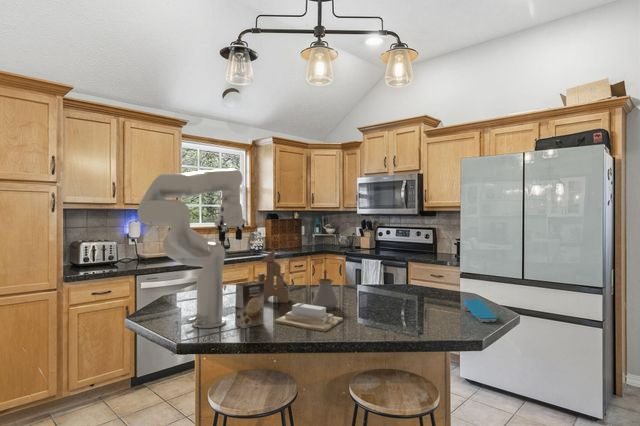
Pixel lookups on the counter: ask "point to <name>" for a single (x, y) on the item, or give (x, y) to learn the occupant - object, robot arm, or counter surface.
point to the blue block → (479, 309)
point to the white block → (309, 310)
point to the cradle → (309, 321)
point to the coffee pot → (325, 294)
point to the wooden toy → (272, 271)
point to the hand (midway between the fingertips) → (230, 240)
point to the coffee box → (249, 304)
